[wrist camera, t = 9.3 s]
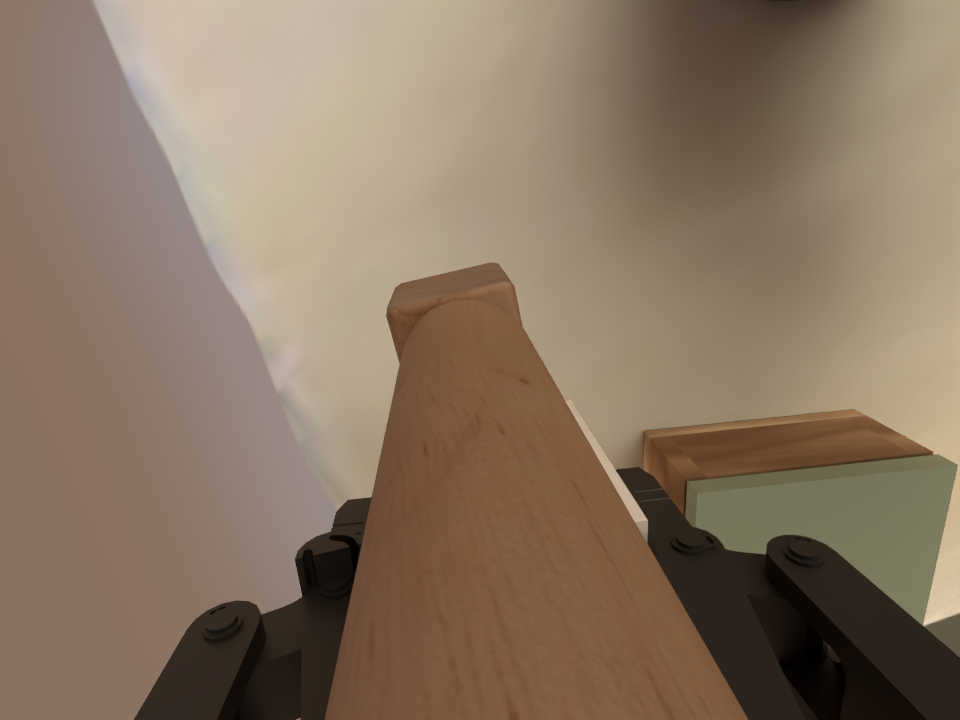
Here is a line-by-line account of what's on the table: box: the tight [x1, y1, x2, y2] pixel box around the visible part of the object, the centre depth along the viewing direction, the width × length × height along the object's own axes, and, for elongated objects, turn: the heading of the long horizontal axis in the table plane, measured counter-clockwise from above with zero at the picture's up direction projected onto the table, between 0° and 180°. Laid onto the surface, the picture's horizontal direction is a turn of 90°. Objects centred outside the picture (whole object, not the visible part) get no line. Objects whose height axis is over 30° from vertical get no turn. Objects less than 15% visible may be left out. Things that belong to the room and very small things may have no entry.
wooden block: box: [325, 263, 748, 720], centre depth 11 cm, size 4×11×18 cm, turn 13°
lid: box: [685, 454, 958, 626], centre depth 30 cm, size 16×14×4 cm
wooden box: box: [643, 409, 933, 517], centre depth 35 cm, size 16×14×6 cm
